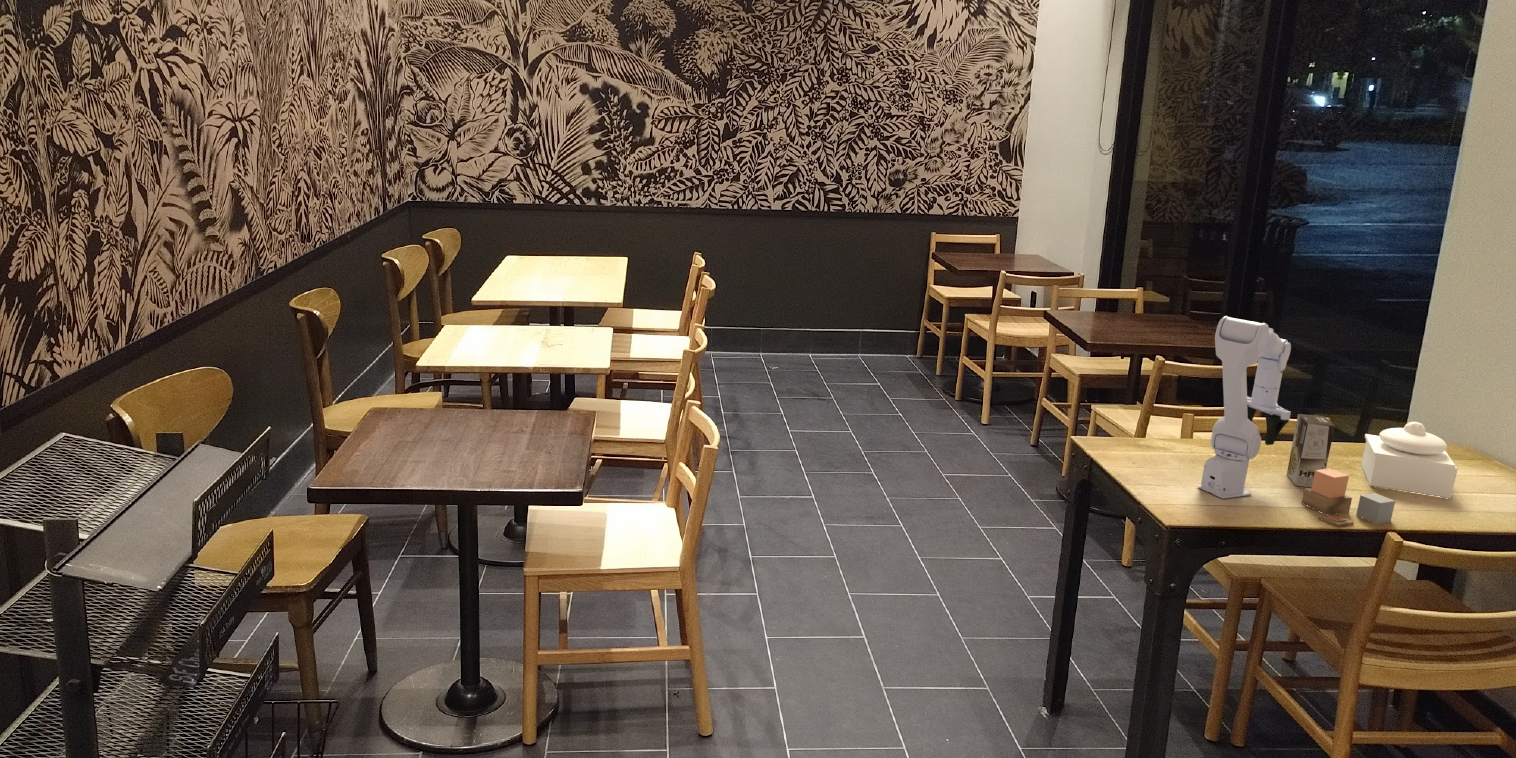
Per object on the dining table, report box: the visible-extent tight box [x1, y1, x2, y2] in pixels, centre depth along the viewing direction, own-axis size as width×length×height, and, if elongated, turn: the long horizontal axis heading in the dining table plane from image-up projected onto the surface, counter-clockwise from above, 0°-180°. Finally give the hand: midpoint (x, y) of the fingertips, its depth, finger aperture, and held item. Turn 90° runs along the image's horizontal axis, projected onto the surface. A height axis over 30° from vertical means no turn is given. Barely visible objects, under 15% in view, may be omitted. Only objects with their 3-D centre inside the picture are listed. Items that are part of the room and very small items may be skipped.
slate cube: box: [1355, 492, 1396, 524], centre depth 253 cm, size 5×5×5 cm
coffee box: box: [1286, 413, 1336, 488], centre depth 274 cm, size 9×6×16 cm
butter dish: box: [1360, 421, 1458, 500], centre depth 278 cm, size 18×18×16 cm
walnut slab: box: [1301, 487, 1353, 515], centre depth 258 cm, size 7×7×4 cm
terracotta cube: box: [1310, 468, 1350, 498], centre depth 256 cm, size 5×5×5 cm
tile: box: [1318, 514, 1355, 528], centre depth 250 cm, size 5×5×1 cm
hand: (1256, 439), depth 273 cm, fingers open, 7 cm apart
